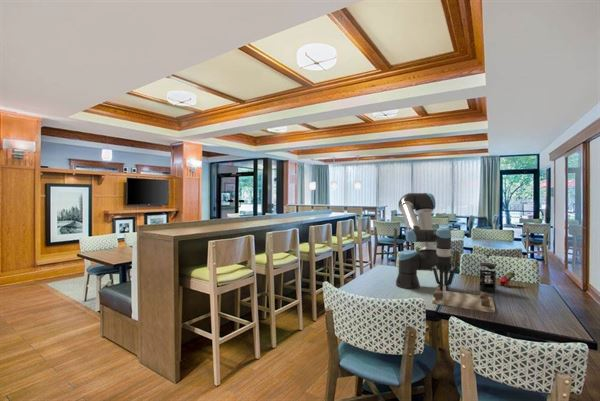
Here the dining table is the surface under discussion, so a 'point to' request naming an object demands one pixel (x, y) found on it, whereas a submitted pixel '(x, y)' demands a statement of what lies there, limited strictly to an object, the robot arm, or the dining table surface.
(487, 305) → the stool seat
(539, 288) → the dining table surface
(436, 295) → the folding leg
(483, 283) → the french press
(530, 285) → the dining table surface
